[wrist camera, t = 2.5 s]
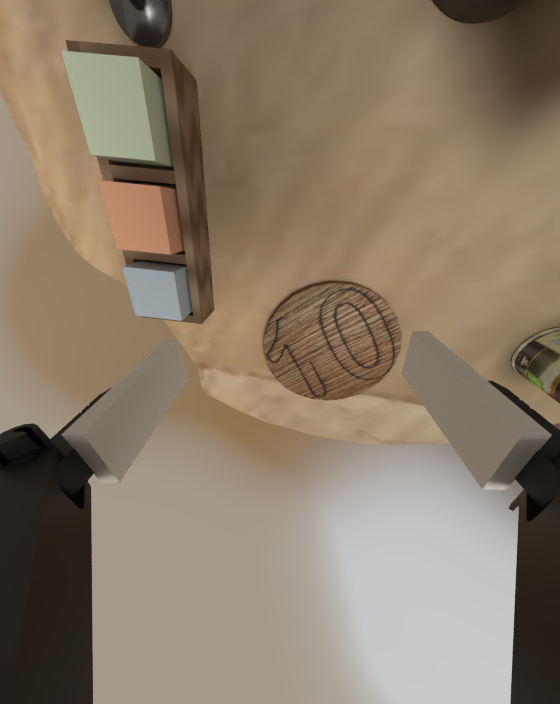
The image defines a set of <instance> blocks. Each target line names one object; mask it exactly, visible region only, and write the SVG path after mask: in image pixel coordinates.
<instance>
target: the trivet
mask: <svg viewBox="0 0 560 704" xmlns="http://www.w3.org/2000/svg"><path fill="white" fill-rule="evenodd" d="M401 335H402V333H401V329H400V326H399V322H398V318H397V316H396V315H395V313H394V312H393V311H392V309H391V308H390V306H389V305H388V303H387V302H386V301H385V300H384V299H382V298H381V297H380V296H378V295H377V294H376V293H374V292H373V291H372V290H370V289H368V288H365V287H363V286H360V285H357V284H354V283H351V282H337V281H330V282H324V283H319V284H314V285H310V286H308V287H306V288H304V289H302V290H300V291H298V292H296V293H294V294H292V295H291V296H290V297H289V298H288V299H286V300H285V301H284V302H283V303H282V304H280V305H279V307H278V308H277V310H276V311H275V313H274V314H273V316H272V317H271V319H270V321H269V324H268V327H267V330H266V333H265V336H264V355H265V359H266V362H267V365H268V368H269V369H270V371H271V372H272V374H273V375H274V377H275V378H276V379H277V380H278V381H279V382H280V383H281V384H282V385H283V386H284V387H286V388H287V389H289V390H291V391H293V392H294V393H296V394H298V395H301V396H304V397H308V398H311V399H319V400H337V399H344V398H348V397H351V396H355V395H358V394H360V393H362V392H364V391H366V390H368V389H370V388H372V387H373V386H374V385H376V384H377V383H378V382H379V381H381V380H382V379H383V378H384V377H385V376H386V375H387V373H388V372H389V371H390V369H391V368H392V367H393V365H394V364H395V362H396V359H397V357H398V354H399V352H400V348H401Z"/></svg>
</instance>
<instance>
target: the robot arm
mask: <svg viewBox="0 0 560 704" xmlns="http://www.w3.org/2000/svg"><path fill="white" fill-rule="evenodd" d="M434 1H435V3H436V4H437V5H438V7H439V8H440V9H441V10H442V11H443V12H444V13H446V14H447V15H448V16H450V17H452V18H454V19H456V20H458V21H462V22H467V23H479V22H485V21H489V20H493V19H496V18H498V17H500V16H503V15H505V14H507V13H509V12H510V11H512V10H514V9H515V8H517V7H518V6H520V5H521V4H523V3H524V2H525V1H526V0H434ZM401 374H402V375H403V376H404V378H405V379H406V381H407V382H408V384H409V385H410V386H411V388H412V389H413V391H414V392H415V394H416V395H417V396H418V398H419V399H420V401H421V402H422V404H423V405H424V406H425V408H426V409H427V411H428V412H429V414H430V415H431V416H432V418H433V419H434V421H435V422H436V424H437V425H438V426H439V428H440V429H441V431H442V432H443V434H444V435H445V437H446V438H447V439H448V441H449V442H450V444H451V445H452V447H453V448H454V449H455V451H456V452H457V454H458V455H459V456H460V458H461V459H462V461H463V462H464V464H465V465H466V467H467V468H468V469H469V471H470V472H471V474H472V475H473V477H474V478H475V479H476V481H477V482H478V484H479V485H480V487H481V488H482V489H497V490H498V489H499V490H500V489H501V490H506V489H507V488H508V487H509V486H510V485H511V484H512V482H513V481H514V480H515V479H516V480H517V481H518V482H519V484H520V485H521V486H522V487H523V488H524V490H523V491H522V492H521V493H520V494H519V495H518V497H517V498H516V499H515V500H514V501H513V502H512V503H511V505H510V507H509V509H511V510H512V511H513V510H514V509H515V508H516V507H517V506H519V521H518V545H517V567H516V591H515V614H514V638H513V660H512V684H511V704H560V430H558V429H557V428H556V427H555V426H553V425H552V424H551V423H550V422H548V421H547V420H546V419H545V418H543V417H542V416H541V415H540V414H538V413H537V412H536V411H535V410H533V409H530V407H529V406H528V405H527V404H526V403H524V402H523V401H522V400H519V398H518V397H517V396H516V395H514V394H513V393H512V392H511V391H509V390H508V389H507V388H505V387H503V386H501V385H499V384H497V383H495V382H493V381H487V380H485V379H484V378H483V377H482V376H481V375H479V374H478V373H477V372H476V371H475V370H474V369H472V368H471V367H470V366H469V365H468V364H466V363H465V362H464V361H463V360H462V359H460V358H459V357H458V356H457V355H456V354H454V353H453V352H452V351H451V350H450V349H448V348H447V347H446V346H445V345H444V344H442V343H441V342H440V341H439V340H438V339H436V338H435V337H434V336H433V335H432V334H430V333H429V332H428V331H415V332H412V335H411V339H410V343H409V347H408V351H407V354H406V358H405V362H404V366H403V370H402V373H401ZM188 378H189V377H188V373H187V371H186V368H185V365H184V362H183V359H182V356H181V353H180V350H179V347H178V344H177V341H176V340H163V341H162V342H161V343H160V344H158V345H157V346H156V347H155V348H154V349H153V350H152V351H151V352H150V353H149V354H148V355H147V356H146V357H144V358H143V359H142V360H141V361H140V362H139V363H138V364H137V365H136V366H135V367H134V368H133V369H131V371H129V372H128V373H127V374H126V375H125V376H124V377H123V378H122V379H121V380H120V381H119V382H117V383H116V384H115V385H114V386H113V387H112V388H110V389H108V390H107V391H105V392H104V393H102V394H100V395H99V396H98V397H97V398H96V399H94V400H93V401H92V402H91V403H90V405H89V406H87V407H85V408H84V409H83V410H82V412H81V413H79V414H78V415H77V416H76V417H74V418H73V419H72V420H71V421H70V422H69V423H68V424H67V425H66V426H65V427H63V428H62V429H61V430H60V431H59V432H58V433H57V434H56V435H55V436H53V438H51V439H49V438H48V437H47V436H46V434H45V433H44V432H43V431H42V430H41V429H40V428H39V427H38V425H35V424H24V425H21V426H17V427H14V428H12V429H10V430H8V431H5V432H3V433H2V434H0V704H93V661H92V660H93V659H92V658H93V657H92V556H91V555H92V550H91V549H92V545H91V486H90V484H89V483H88V480H89V478H90V477H91V476H92V475H93V473H94V474H95V475H96V477H97V478H98V479H99V480H100V481H101V482H120V481H121V480H122V478H123V477H124V475H125V474H126V472H127V471H128V469H129V468H130V466H131V465H132V463H133V461H134V460H135V458H136V457H137V456H138V454H139V452H140V451H141V449H142V448H143V446H144V445H145V443H146V442H147V440H148V439H149V437H150V436H151V434H152V433H153V431H154V430H155V428H156V427H157V425H158V424H159V422H160V421H161V419H162V418H163V416H164V414H165V413H166V412H167V410H168V409H169V407H170V406H171V404H172V402H173V401H174V399H175V398H176V396H177V395H178V393H179V392H180V390H181V389H182V387H183V386H184V384H185V383H186V381H187V380H188Z"/></svg>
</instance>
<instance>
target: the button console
mask: <svg viewBox="0 0 560 704" xmlns="http://www.w3.org/2000/svg"><path fill="white" fill-rule="evenodd" d="M66 43H67V47H68V51H71V52H82V53H94V54H105V55H117V56H128V57H138V58H140V59H141V60H142V61H143V62H144V63H145V64H146V65H147V66H148V67H149V68H150V69H151V70H152V71H153V72H154V73H155V74H156V75H158V76H159V77H160V78H161V79H162V83H163V90H164V98H165V106H166V113H167V121H168V128H169V136H170V143H171V151H172V158H173V166H174V167H165V166H155V165H144V164H134V163H124V162H116V161H113V160H109V159H105V158H102V157H98V156H97V158H98V162H99V165H100V169H101V173H102V176H103V180H104V181H111V182H121V183H131V184H141V185H151V186H160V187H166V188H171V189H177V196H178V204H179V211H180V219H181V226H182V234H183V241H184V249H185V250H184V251H181V252H178V253H175V254H172V255H169V254H159V253H150V252H141V251H132V250H123V254H124V258H125V261H126V265H129V264H132V263H136V262H139V261H147V262H156V263H165V264H174V265H183V266H187V271H188V279H189V286H190V294H191V302H192V309H193V311H192V312H191V313H190V314H189V315H188V316H187V317H185V318H184V319H183V320H182V321H181V322H189V323H198V324H202V323H203V322H204V321H205V320H206V319H207V317H208V316H209V315H210V314H211V313H212V312H213V311H214V302H213V289H212V276H211V263H210V250H209V237H208V224H207V211H206V198H205V185H204V173H203V160H202V147H201V134H200V121H199V108H198V95H197V82H196V80H195V79H194V78H193V76H192V75H191V74H190V73H189V72H188V70H187V69H186V68H185V67H184V65H183V64H182V63H181V62H180V60H179V59H178V58H177V57H176V55H175V54H174V53H173V52H172V50H171V49H161V48H149V47H138V46H126V45H114V44H103V43H91V42H79V41H68V40H66ZM141 317H144V316H141ZM146 318H153V317H146ZM155 319H162V318H155ZM163 320H170V319H163ZM172 321H179V320H172Z"/></svg>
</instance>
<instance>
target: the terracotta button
mask: <svg viewBox="0 0 560 704" xmlns="http://www.w3.org/2000/svg"><path fill="white" fill-rule="evenodd" d="M98 183H99V187H100V190H101V194H102V197H103V201H104V204H105V208H106V212H107V215H108V219H109V222H110V226H111V229H112V233H113V236H114V240H115V243H116V247H117V249H122V250H132V251H141V252H150V253H159V254H169V255H172V254H175V253H178V252H181V251H184V250H185V249H184V241H183V234H182V226H181V219H180V211H179V204H178V196H177V189H171V188H166V187H160V186H151V185H141V184H131V183H121V182H111V181H101V180H98Z"/></svg>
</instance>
